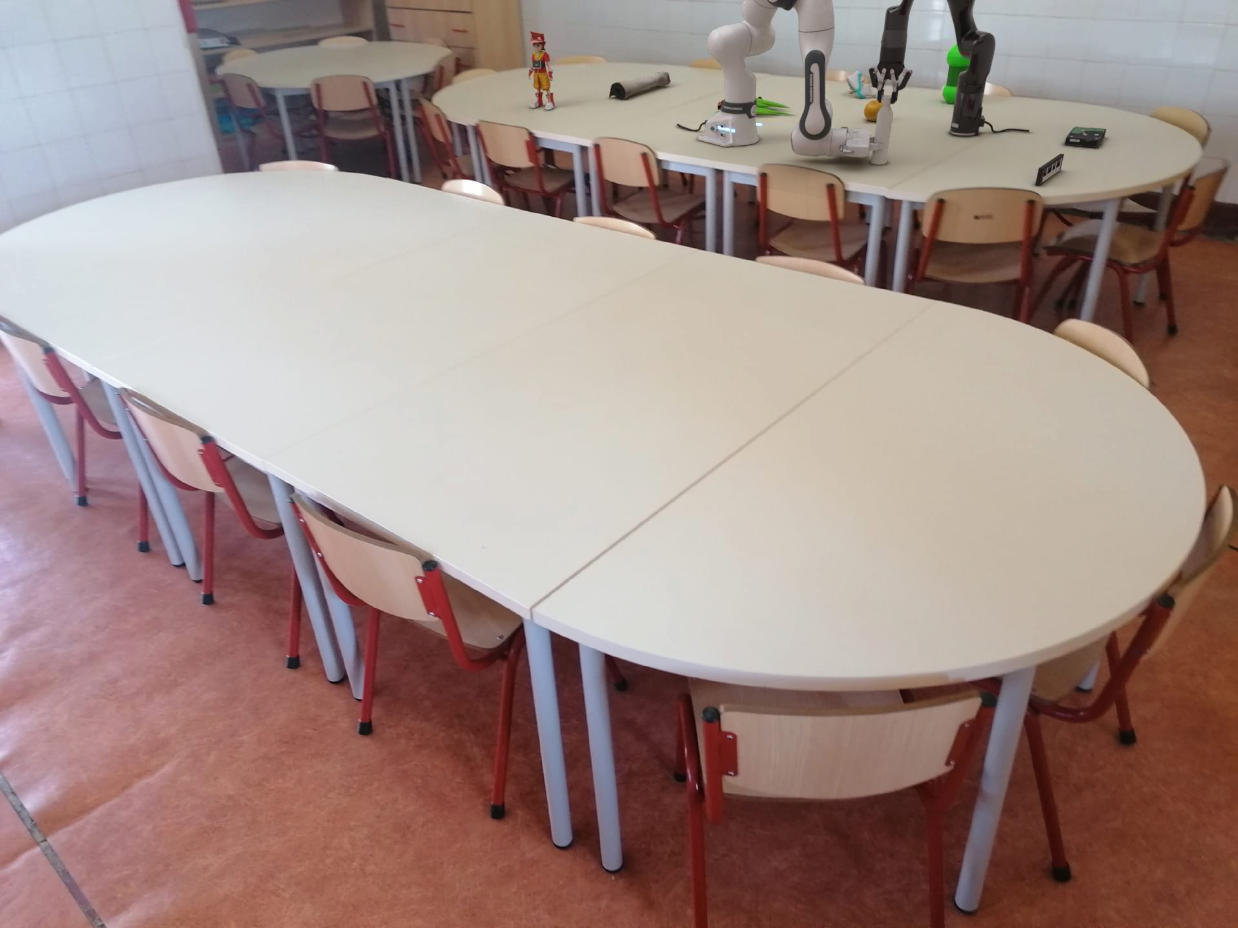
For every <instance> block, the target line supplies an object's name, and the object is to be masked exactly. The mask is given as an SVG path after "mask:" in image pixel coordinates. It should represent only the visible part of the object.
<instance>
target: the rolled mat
mask: <svg viewBox="0 0 1238 928" xmlns="http://www.w3.org/2000/svg"><path fill="white" fill-rule="evenodd" d="M671 83H672V81H671V77H670V74H669V72H668V71H658V72H654V73H649V74H645V75H640V76H637V77H633V78H628V79H623V80H620V81H616V82H613V83H612V84H611V85H610V89H609V95H608V97H609V98H611V97H616V99H620V100H622V101H623V100H626V99H627V98H629V97H630V96H632V95H635V94H636V93H638V92H640V91H643V90H644V89H647V88H650V87H655V86H658V87H659V86H661V87H665V86H669V85H670V84H671Z"/></svg>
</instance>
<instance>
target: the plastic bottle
mask: <svg viewBox="0 0 1238 928" xmlns="http://www.w3.org/2000/svg"><path fill="white" fill-rule="evenodd" d="M946 63H947V64H948V69H947V70H948V71H947V76H946V77H947V78H946V84H945V85H944V87H943V90H942V97H943V99H944V100H945V101H946V102H947V103H948V104H954V103H955V96H956V90H957V83H958V77H959V74H960V73H961V72H963V71H966V70H967V69H968V67H969V63H970V60H968V59H965V58H963V57H962V56H961V55H960V53H959V51H958V47H957V43H956V44H954V45H953V46H952V47H951V48H950V49H949V50H948V52H947V54H946Z"/></svg>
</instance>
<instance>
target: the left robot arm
mask: <svg viewBox="0 0 1238 928" xmlns="http://www.w3.org/2000/svg"><path fill="white" fill-rule="evenodd" d="M778 8H779V9H782V10H784V11H787V12H789V11H791V10H792V9H794V10H795V12H796V13H797V18H798V19H797V21H798V24H797V29H798V32H797V33H798V43H799V44H798V45H799V51H800V55H801V61H802V65H803V66H802V67H803V72H804V108H803V111H802V114H801V116H800V118H799V120H798V122H797V124H796V126H795V127H794V128H793V130H792V131H791V133H790V145H791V149H792V152H793V153H794V154H795V155H798V156H802V157H817V158H818V157H823V156H824V157H829V158H845V157H851V158H867V157H869V152H873V151H874V150H883V149H884V143H877V144H874V137H875V135H871V130H870V129H866V128H855V127H854V128H853V127H850V128H849V126H846V125H845V126H840V127H839V128H838V127H837V128H832V123H833V122H832V121H833V116H834V110H833V106H832V103H831V102H830V101H829V99H826V76H827V69H828V66H829V62H830V58H831V55H832V52H833V49H834V41H835V10H834V9H835V8H834V4H833V0H743V1H742V3H741V7H740V10H741V16H742V18H743V21H741V22H738V23H732V24H725V25H722V26H719V27H717V28H715V29H713V30H711V32H710V33H709V35H708V37H707V43H706V46H707V47H706V48H707V51H708V54H709V55H710V57H711V58H712V59H713V60H714V61H716V63H718V65H719V67H720V69H721V71H722V74H723V83H724V87H723V88H724V99H722V100H721V101H719V102H718V103H720V104H719V105H718V104H717V107H718V106H720V105H721V108H720V110H717V112H716V113H715V114H713V115H712V116H711V117H709V118H708V119H706V120H704V121H703V122H701V123H700V125H699V127H698V128H695V129H692V128H690V127H687V126H683V125H681V124H680V123H676V126H677V127H678V128H680V129H682V130H686V131H688V132H689V131H690V132H700V131H701V129H702V126H704V129H703V130H704V131H703V132H702V133H700V134H699V135H698V137H697V140H698V141H700V142H704V143H708V144H712V145H717V146H721V147H725V148H728V147H733V146H734V147H735V146H738V147H739V146H747V145H748V146H749V145H753V144H756V143H758V142H760V141H759V140H760V137H759V134H758V127H757V126H759V127H760V126H763V123H758V122H757V114H756V112H757V99H756V98H757V76H756V74H755V73H754V72H753V71H752V70H751V69H749V68H747V65H746V60H745V59H746V58H749V57H754V56H760V55H762V54H764V53H766V52H769V51H770V50H771V49H772V48H773V47H774V44H775V42H776V29H775V28H774V26H773V24H772V21H773V19H774V16H775V15H776V13H777V11H778V10H779V9H778Z"/></svg>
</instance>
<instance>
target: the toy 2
mask: <svg viewBox="0 0 1238 928" xmlns="http://www.w3.org/2000/svg"><path fill="white" fill-rule="evenodd" d="M756 99H757V112H756V115H788V116H789V115H790V116H791V115H794V114H793V113H788V112H783V111H776V110H773V109H769V108H780V109H790V106H786V105H785V104H782V103H779V102H777V101H776V102H775V101H772V100H768V99H763V98H762V96H758V97H756ZM719 104H720V103H719V102H717V108H716V109H717V111H720V108H721V105H720V106H718V105H719Z"/></svg>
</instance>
